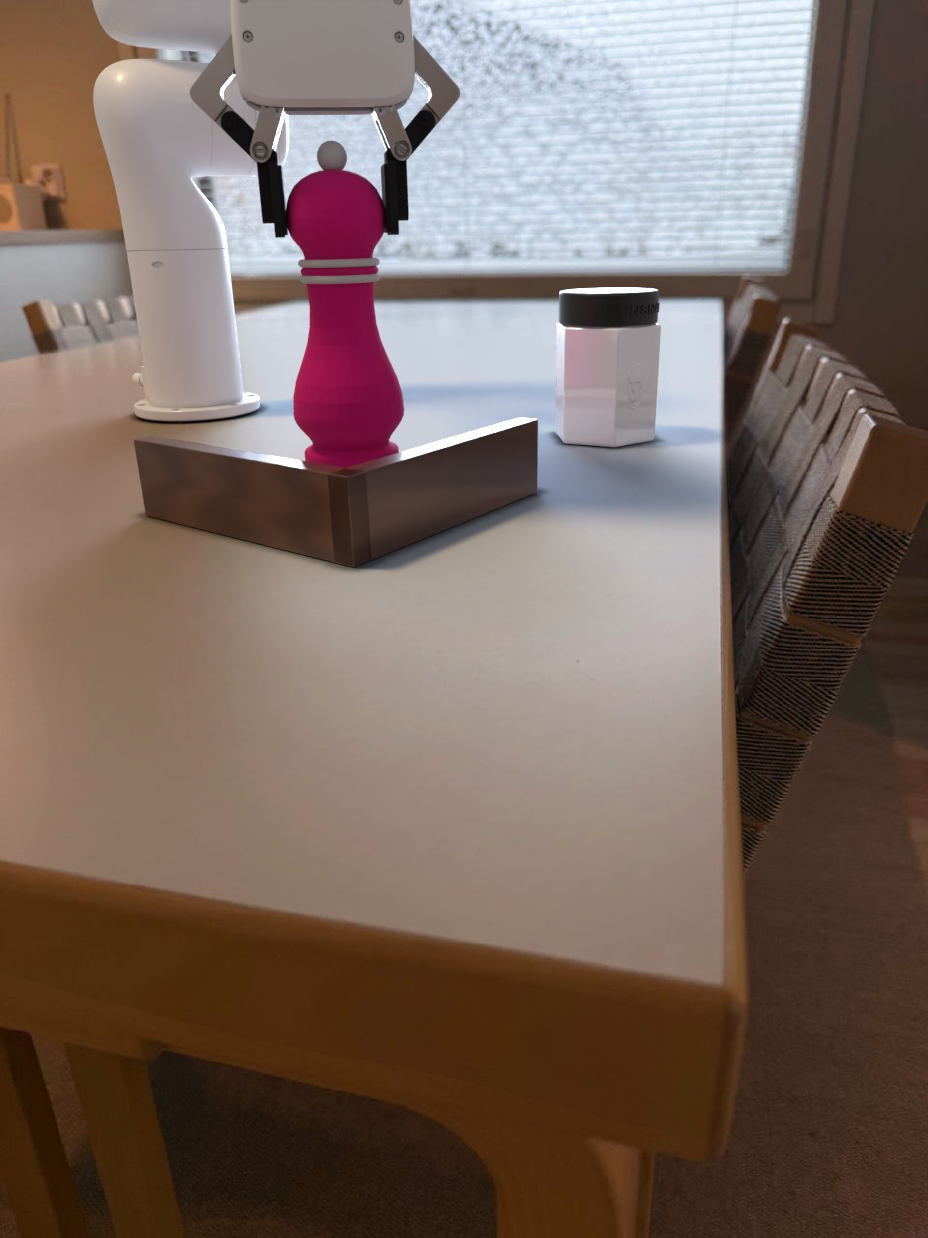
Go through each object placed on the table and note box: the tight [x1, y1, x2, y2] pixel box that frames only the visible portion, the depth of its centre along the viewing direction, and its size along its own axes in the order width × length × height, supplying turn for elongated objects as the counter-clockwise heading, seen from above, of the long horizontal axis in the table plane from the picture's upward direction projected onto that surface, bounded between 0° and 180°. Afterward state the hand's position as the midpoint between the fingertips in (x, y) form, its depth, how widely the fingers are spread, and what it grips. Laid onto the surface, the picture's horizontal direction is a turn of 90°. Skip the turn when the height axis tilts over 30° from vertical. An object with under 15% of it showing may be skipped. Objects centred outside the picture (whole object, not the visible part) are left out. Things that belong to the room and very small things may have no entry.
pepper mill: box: [286, 140, 405, 468], centre depth 58 cm, size 7×7×20 cm
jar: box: [554, 287, 662, 448], centre depth 77 cm, size 9×8×12 cm
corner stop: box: [133, 417, 539, 568], centre depth 61 cm, size 18×18×5 cm
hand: (336, 232), depth 56 cm, fingers closed on pepper mill, 6 cm apart
